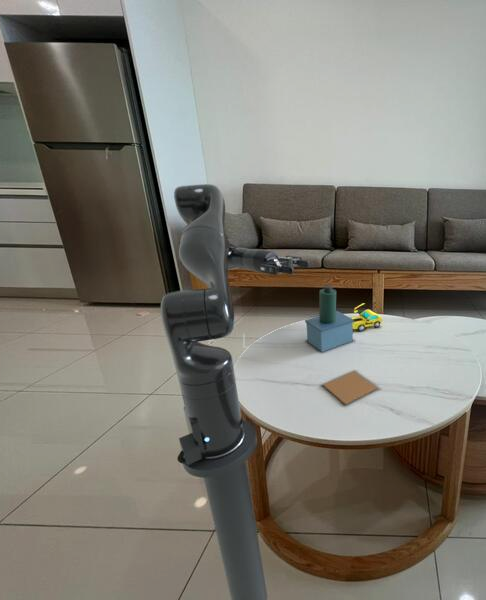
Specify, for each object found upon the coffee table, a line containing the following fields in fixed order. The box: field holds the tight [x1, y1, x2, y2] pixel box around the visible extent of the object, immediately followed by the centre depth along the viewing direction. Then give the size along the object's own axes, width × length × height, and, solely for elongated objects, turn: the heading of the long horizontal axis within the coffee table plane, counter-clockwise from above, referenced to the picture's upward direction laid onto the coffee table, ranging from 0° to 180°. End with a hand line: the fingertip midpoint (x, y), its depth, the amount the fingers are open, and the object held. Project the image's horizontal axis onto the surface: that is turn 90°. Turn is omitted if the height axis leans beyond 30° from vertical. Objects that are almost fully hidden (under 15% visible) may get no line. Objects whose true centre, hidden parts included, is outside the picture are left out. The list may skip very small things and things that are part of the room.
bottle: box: [318, 284, 337, 324], centre depth 102 cm, size 5×5×12 cm
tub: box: [304, 310, 354, 353], centre depth 106 cm, size 13×10×8 cm
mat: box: [322, 371, 378, 406], centre depth 84 cm, size 10×10×1 cm
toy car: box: [350, 302, 383, 332], centre depth 117 cm, size 12×8×8 cm, turn 120°
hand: (301, 267), depth 102 cm, fingers open, 8 cm apart
